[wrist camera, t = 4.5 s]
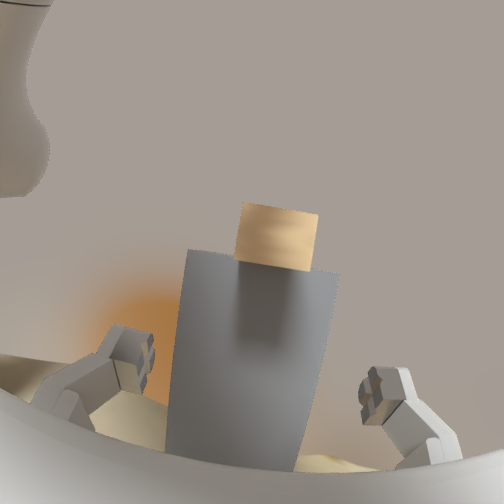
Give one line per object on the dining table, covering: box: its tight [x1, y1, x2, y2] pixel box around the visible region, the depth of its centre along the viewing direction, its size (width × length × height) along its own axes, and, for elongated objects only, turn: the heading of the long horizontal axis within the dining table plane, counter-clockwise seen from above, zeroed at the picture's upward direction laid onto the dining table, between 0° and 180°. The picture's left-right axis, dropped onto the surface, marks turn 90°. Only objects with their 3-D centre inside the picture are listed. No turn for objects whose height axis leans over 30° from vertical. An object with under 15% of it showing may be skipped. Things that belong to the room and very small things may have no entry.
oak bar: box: [234, 202, 318, 272], centre depth 27 cm, size 4×22×3 cm, turn 1°
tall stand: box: [165, 249, 340, 472], centre depth 29 cm, size 12×10×26 cm
